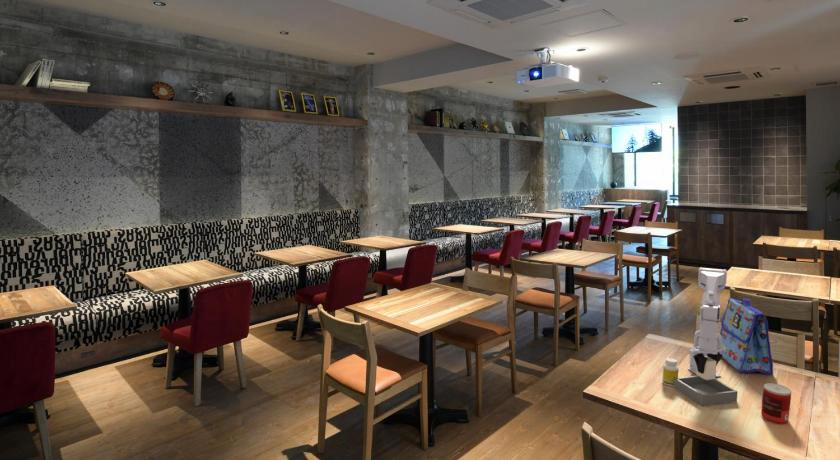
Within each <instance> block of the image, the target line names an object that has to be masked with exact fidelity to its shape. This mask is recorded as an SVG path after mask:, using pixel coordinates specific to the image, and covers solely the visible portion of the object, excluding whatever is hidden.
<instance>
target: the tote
mask: <svg viewBox="0 0 840 460" xmlns="http://www.w3.org/2000/svg"><path fill="white" fill-rule="evenodd" d="M673 389H674V390H676V391H677V392H679V393H681V394H683V395H684V396H686V397H687V398H688V399H690V400H692V402H695V403H696V404H698V405H700V406H701V407H707V406H713V405H715V406H716V405H721V404H729V403H737V401H738V390H736V389H734V388H733V387H731V386H729V385H727V384H725V383H723V382H722V381H719V380H717V379H716V378H715V379H710V380H705V379H703V378H701V377H700V376H698V375H691V376H681V377H678V378H674V386H673Z"/></svg>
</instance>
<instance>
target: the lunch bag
mask: <svg viewBox="0 0 840 460" xmlns="http://www.w3.org/2000/svg"><path fill="white" fill-rule="evenodd" d="M765 315H766V314H764V313H763V312H762V311H760V310H759V309H756V308H754V307H753V306H752V305H751V299H748V298H741V300H738V299H735V298H732V297H729V298H728V300H727V305H726V308H725V310H724V314H723V316H722V319H721V325H720V326H721V328H720V333H719V334H720V335H721V337H722V346H724V347H726V352H725V353H723V352H721V354H722V359H724V360H725V361H726V362H727V363H729V364H730V366H732V367H733V368H734V369H735V370H736V371H738V372H739V373H740V374H742V375H743V374H746V373H755V372H759V373H762V374H766V375H770V376H772V375H774V369H773V368H774V363H773V362H774V361H773V357H772V352H771V342H770V337H769V323H768V320H767V318H766V316H765ZM718 342H719V341H718Z"/></svg>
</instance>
